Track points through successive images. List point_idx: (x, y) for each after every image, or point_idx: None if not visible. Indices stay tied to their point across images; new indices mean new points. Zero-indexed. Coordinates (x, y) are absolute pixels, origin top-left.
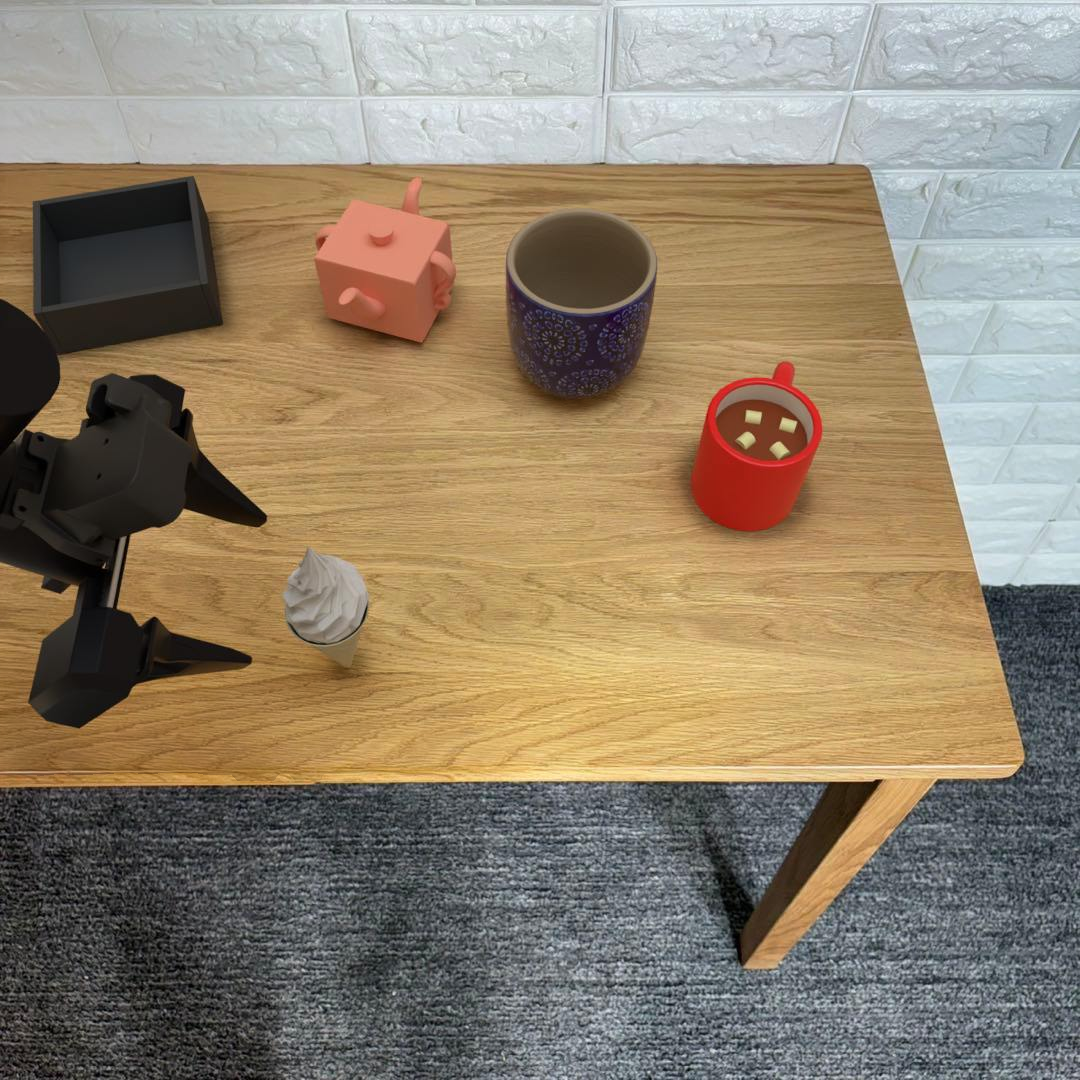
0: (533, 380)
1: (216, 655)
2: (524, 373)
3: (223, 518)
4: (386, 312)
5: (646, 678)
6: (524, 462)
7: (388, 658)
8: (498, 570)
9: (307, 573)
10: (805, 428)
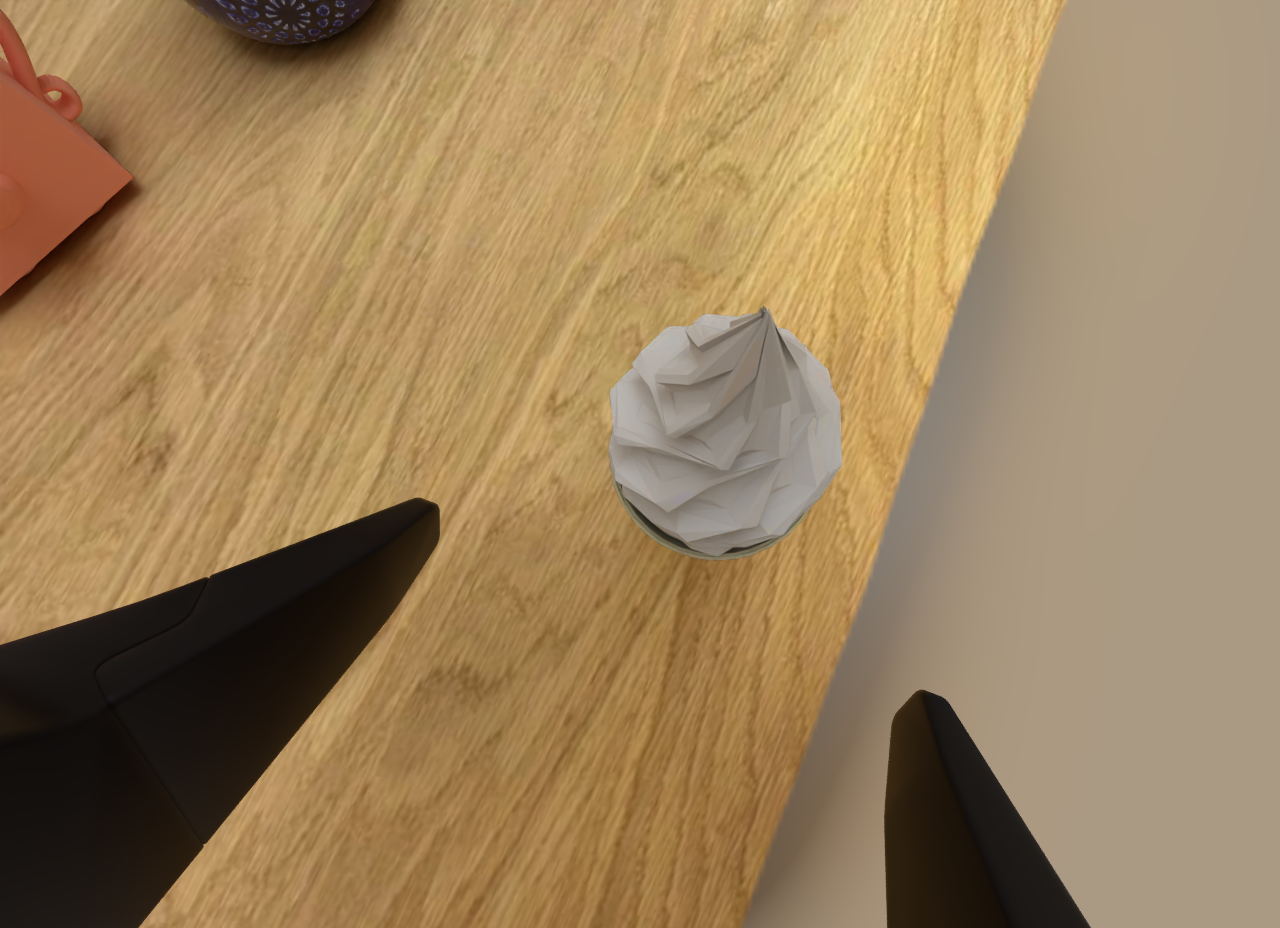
0: (311, 11)
1: (1029, 855)
2: (289, 21)
3: (366, 637)
4: (18, 182)
5: (892, 84)
6: (451, 114)
7: None
8: (626, 215)
9: (770, 401)
10: None
